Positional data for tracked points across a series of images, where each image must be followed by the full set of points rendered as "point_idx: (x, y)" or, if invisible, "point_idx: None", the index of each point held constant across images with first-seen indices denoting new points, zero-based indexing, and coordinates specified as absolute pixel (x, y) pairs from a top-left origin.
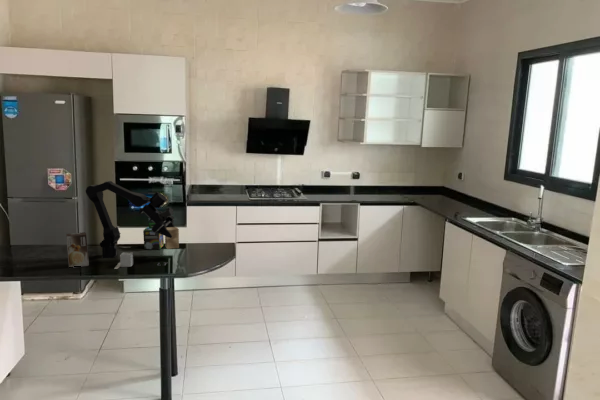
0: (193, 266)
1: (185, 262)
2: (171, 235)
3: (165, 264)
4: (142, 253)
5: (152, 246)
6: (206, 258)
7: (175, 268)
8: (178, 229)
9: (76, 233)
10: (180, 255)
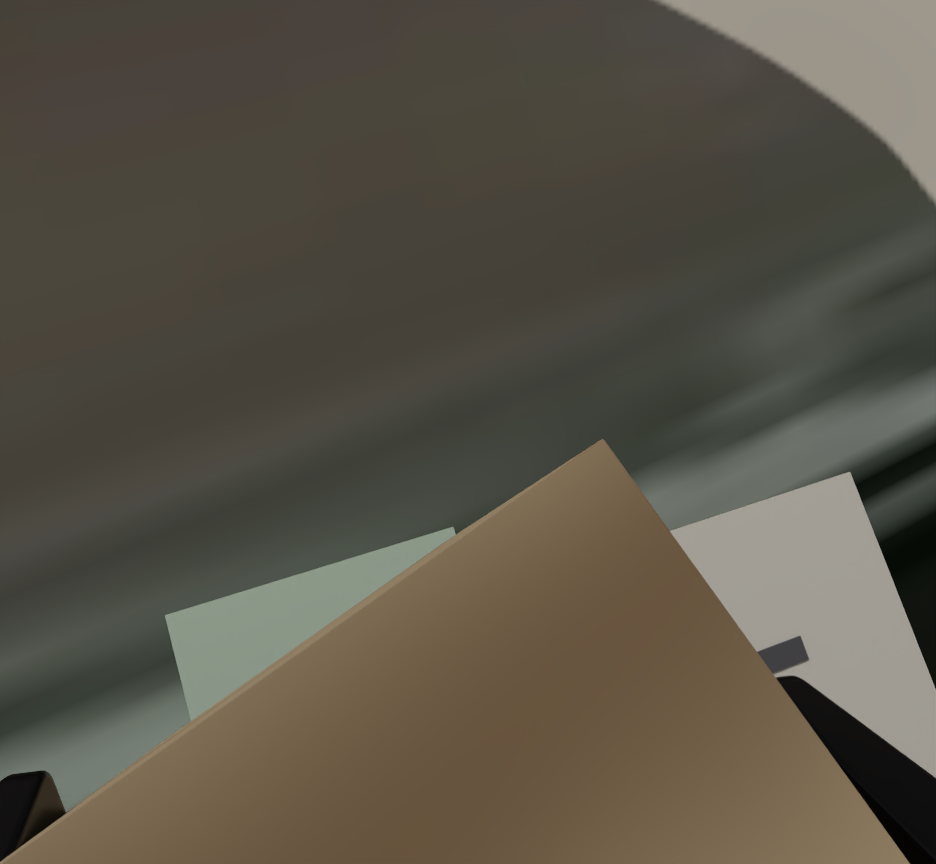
0: (687, 204)
1: (524, 394)
2: (816, 709)
3: (764, 656)
4: None
5: None
6: (214, 136)
7: (852, 422)
8: (603, 452)
9: None
10: (80, 681)
